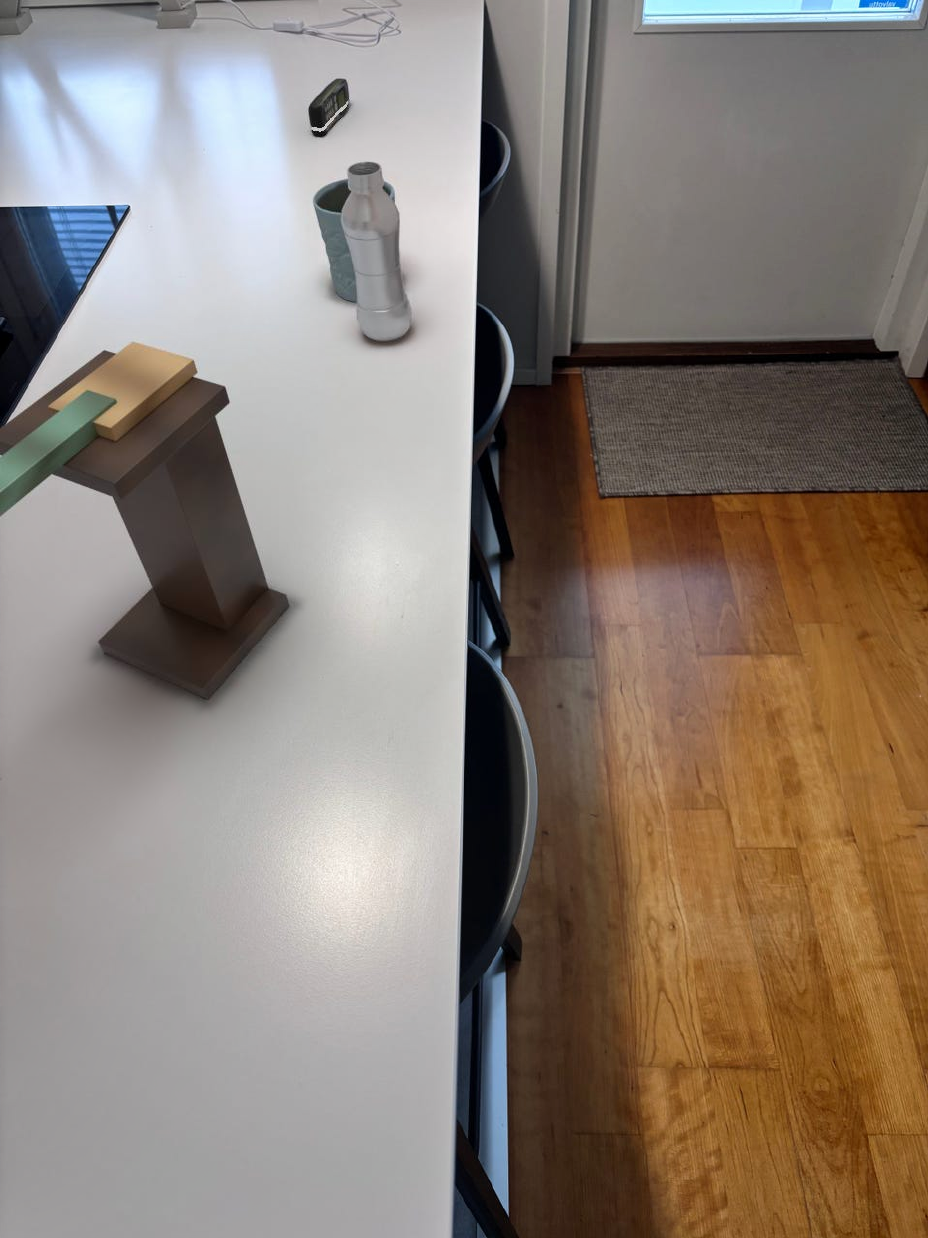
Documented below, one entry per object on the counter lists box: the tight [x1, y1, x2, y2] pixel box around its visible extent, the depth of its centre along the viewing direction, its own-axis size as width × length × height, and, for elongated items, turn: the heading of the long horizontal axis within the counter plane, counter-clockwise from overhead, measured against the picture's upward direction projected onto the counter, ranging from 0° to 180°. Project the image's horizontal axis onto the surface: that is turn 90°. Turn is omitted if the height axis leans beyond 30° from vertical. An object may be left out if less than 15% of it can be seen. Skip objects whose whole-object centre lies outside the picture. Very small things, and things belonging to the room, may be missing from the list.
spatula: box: [0, 341, 198, 517], centre depth 66 cm, size 20×6×2 cm, turn 152°
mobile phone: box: [307, 77, 350, 137], centre depth 161 cm, size 5×3×15 cm
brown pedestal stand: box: [0, 349, 290, 700], centre depth 77 cm, size 12×12×24 cm
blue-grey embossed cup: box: [312, 178, 396, 303], centre depth 121 cm, size 10×10×12 cm
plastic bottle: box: [341, 161, 413, 342], centre depth 110 cm, size 6×7×20 cm
